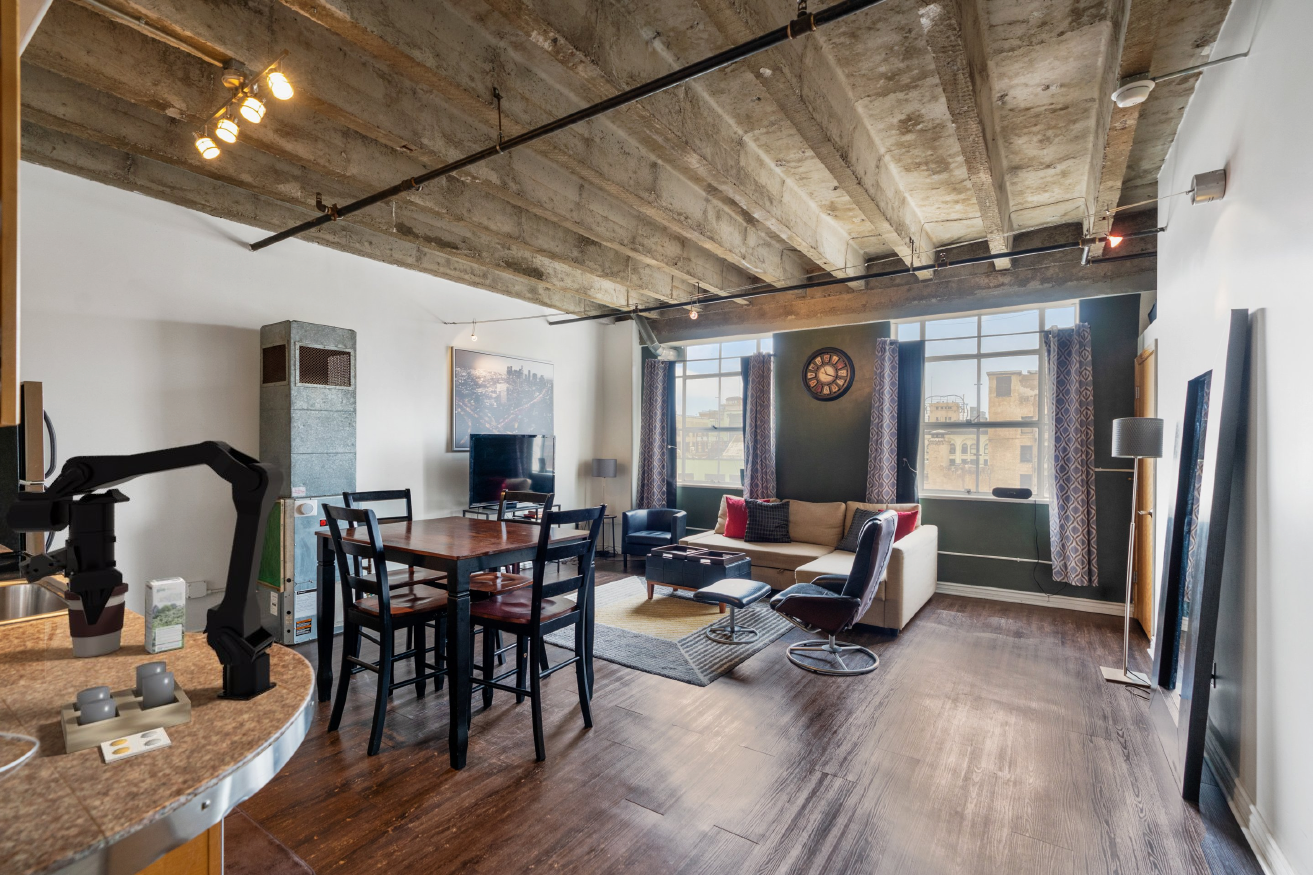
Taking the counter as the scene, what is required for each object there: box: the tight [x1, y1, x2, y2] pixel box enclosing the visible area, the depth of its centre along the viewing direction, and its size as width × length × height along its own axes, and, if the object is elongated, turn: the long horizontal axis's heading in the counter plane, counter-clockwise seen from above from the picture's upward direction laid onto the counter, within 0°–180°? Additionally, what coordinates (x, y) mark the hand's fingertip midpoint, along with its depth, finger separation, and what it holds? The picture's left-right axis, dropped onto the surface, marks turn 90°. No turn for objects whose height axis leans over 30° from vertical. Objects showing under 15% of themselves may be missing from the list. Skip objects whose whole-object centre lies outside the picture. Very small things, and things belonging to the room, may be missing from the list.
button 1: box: [76, 685, 111, 711], centre depth 97 cm, size 4×4×4 cm
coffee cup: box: [64, 582, 129, 658], centre depth 130 cm, size 10×10×15 cm
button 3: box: [135, 660, 167, 695], centre depth 102 cm, size 4×4×4 cm
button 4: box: [143, 671, 175, 708], centre depth 97 cm, size 4×4×4 cm
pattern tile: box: [100, 727, 172, 764], centre depth 89 cm, size 7×7×1 cm
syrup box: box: [144, 576, 187, 655], centre depth 132 cm, size 6×6×14 cm
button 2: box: [81, 698, 115, 726], centre depth 92 cm, size 4×4×4 cm
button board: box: [60, 678, 192, 754], centre depth 97 cm, size 14×14×3 cm
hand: (91, 624), depth 104 cm, fingers closed
